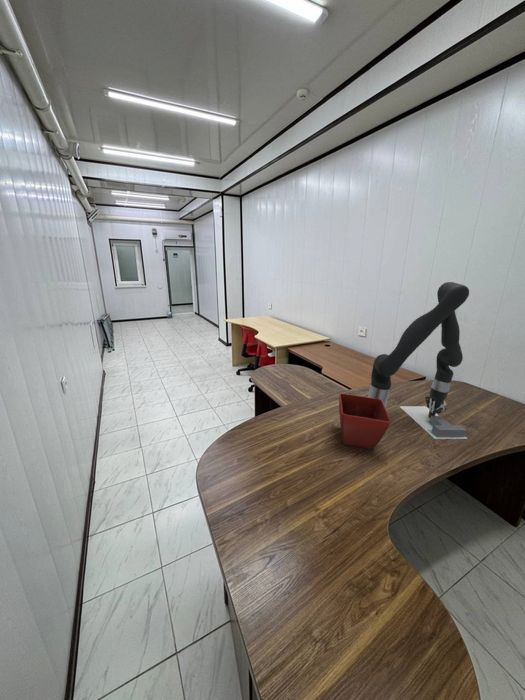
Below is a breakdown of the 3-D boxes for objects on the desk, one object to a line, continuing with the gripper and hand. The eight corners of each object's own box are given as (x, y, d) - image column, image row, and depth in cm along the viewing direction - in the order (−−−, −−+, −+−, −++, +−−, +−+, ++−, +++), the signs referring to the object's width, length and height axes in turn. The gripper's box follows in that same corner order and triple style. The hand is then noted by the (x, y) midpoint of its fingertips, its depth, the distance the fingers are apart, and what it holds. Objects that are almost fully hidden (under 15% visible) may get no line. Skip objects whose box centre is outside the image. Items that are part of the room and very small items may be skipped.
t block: (436, 437, 130) (439, 430, 128) (420, 422, 141) (422, 415, 140) (464, 437, 131) (466, 430, 130) (445, 422, 142) (448, 415, 141)
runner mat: (434, 439, 129) (434, 438, 128) (399, 406, 156) (399, 406, 156) (467, 439, 131) (467, 438, 130) (426, 406, 158) (427, 406, 158)
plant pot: (382, 456, 114) (391, 422, 109) (335, 448, 118) (342, 414, 112) (374, 430, 132) (381, 399, 127) (333, 423, 135) (339, 392, 130)
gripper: (424, 382, 144) (416, 411, 149) (442, 394, 131) (432, 425, 137) (437, 382, 145) (429, 411, 150) (456, 394, 132) (446, 425, 138)
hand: (430, 417), depth 144 cm, fingers closed
